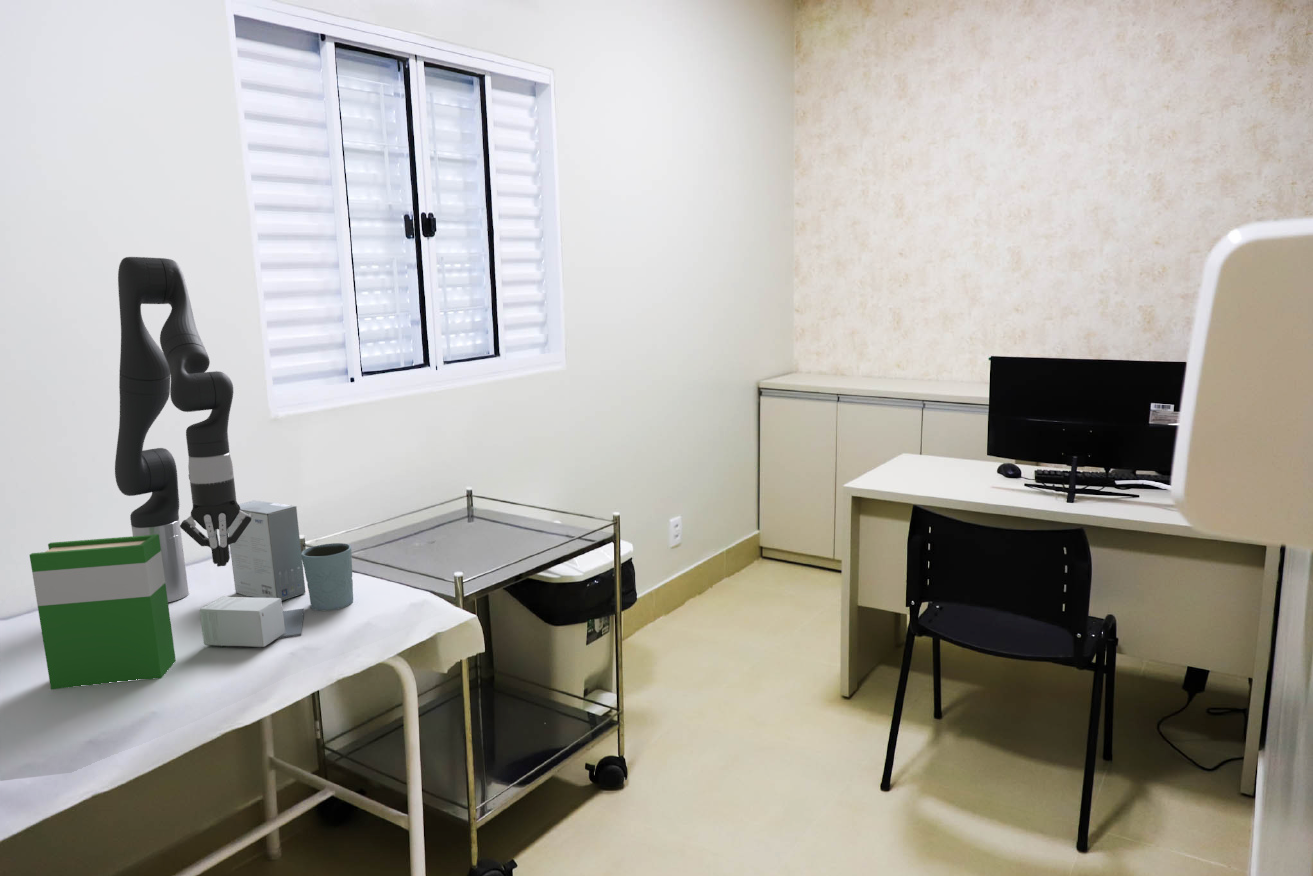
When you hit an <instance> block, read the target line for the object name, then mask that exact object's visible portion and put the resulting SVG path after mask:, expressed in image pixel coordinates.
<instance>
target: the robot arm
mask: <svg viewBox="0 0 1313 876" xmlns="http://www.w3.org/2000/svg"><path fill="white" fill-rule="evenodd" d="M118 266H119V267H118V271H117V285H118V287H117V289H118V303H119V319H120V354H119V355H120V357H119V358H120V359H119V375H118V376H119V378H118V379H119V383H118V385H119V386H118V387H119V423H118V425H119V426H118V434H117V444H116V449H115V450H116V451H115V461H114V476H115V477H114V478H115V481H116V482H115V483H116V486H117V488H118V490H119V491H120V492H121V494H123V495H124V496H127V497H128V496H129V497H132V496H133V497H134V496H138V495H139V496H140V495H144V494H150V493H151V495H150V497H149V499H148V500H147V501H146V502H144V503H143V504H142V505H141V506H139V507H137V508H136V509H134V510H133V511H132V512H131V513H130V518H129V519H130V525H131V526H130V527H131V534H132V536H144V535H157V534H159V539H160V547H161V554H162V562H163V569H164V577H165V584H166V592H167V599H168V603H171V602H175V601H178V600H181V599H183V598H186V597H187V596H188V595H189V594H190V593H189V592H190V591H189V585H188V578H187V570H186V569H187V568H186V562H185V561H186V560H185V552H184V545H183V538H182V531H184V533H186V534H187V535H188V536H189V537H190V538H192V539H193V541H194V542H196V543H197V544H198V545H200V546H201V547H209V548H210V549H211V556H212V557H211V558H212V563H213V564H214V565H216V566H217V567H226V566H227V563H229V561H230V558H231V554H230V544H232V543H235V542H236V541H237V540H238V538H239V537H240V536H241V534H242V533H243V531H244V530H245V529H246V527H247V526H248V524H249V523H250V521H251V519H252V514H246V513H245V512H243V511H241V510H240V506H239V505H238V504H239V503H238V502H237V495H236V494H237V493H236V485H235V476H234V466H233V460H232V457H231V452H230V443H229V434H228V431H229V430H228V427H229V419H230V412H231V407H232V403H233V397H234V385H233V382H232V380H231V378H230V377H229V376H228V374H226V373H225V372H224V371H217V370H215V371H208V369H209V367H210V364H211V363H210V357H209V354H208V352H207V350H206V348H205V346H204V344H203V343H204V342H203V341H202V339H201V337H200V334H199V332H198V329H197V326H196V321H195V319H194V314H193V309H192V305H191V300H190V296H189V291H188V288H187V284H186V279H185V276H184V274H183V273H184V272H183V271H182V269H181V267H180V265H179V264H178V263H177V262H176V261H175V260H174V259H171V258H164V257H163V258H162V257H148V256H147V257H145V256H143V257H142V256H126V257H123V258H122V259H121V260H120V263H119V265H118ZM143 304H144V305H167V304H168V305H169V306H170V307H171V309H170V313H169V315H168V316H167V319H166V320H165V322H164V323H163V326H162V328H161V330H160V334H159V343H160V346H159V345H158V344H157V343H156V341H155V339H154V338H153V337H152V335H151V334H150V332H149V330H148V329H147V327H146V324H145V322H144V320H143V315H142V310H141V309H142V307H141V306H142V305H143ZM207 371H208V372H207ZM169 398H170V400H171V403H172V405H173V406H174V407H175V408H176V409H178V410H179V411H181V412H184V413H190V412H191V413H192V412H199V411H210V410H211V412H210V414H209V416H208V417H207V418H206V419H204V420H202V421H199V422H196V423H193V424H191V425H189V426H188V427H187V428H186V430H185V436H186V437H185V438H186V439H185V440H186V446H187V455H188V479H189V486H190V492H191V501H192V509H191V512H190V516H188V517H187V518H186V519H184V520H182V521H181V523H180V515H179V510H180V495H179V483H178V481H179V480H178V479H179V478H178V469H177V465H176V460H175V457H174V456H173V454H172V453H171V452H170V450H168V449H166V448H164V447H157V448H151V449H144V444H145V440H146V437H147V434H148V432H149V430H150V428H151V427H152V425H153V424H154V422H155V421H156V420H157V418H158V417H159V415H160V414H161V412H162V411H163V409H164V408H165V405H166V404H167V402H168V400H169ZM237 515H238V517H239V519H238V522H239V523H240V524H239V526H238V527H237V529H236V530H235V531H234V533H233V534H232V535H231V536H229V534H228V528H229V527H230V526H231V524H232V523H233V521H234V520H235V518H236V517H237ZM197 524H198V525H199V526H201V528H202V529H203V530H205V531H206V535H207V536H206V535H205V534H204V533H203V532H201V531H200V530H199V529H198V528H197ZM181 530H182V531H181ZM218 532H219V533H218ZM218 534H219V537H218Z"/></svg>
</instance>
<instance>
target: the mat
mask: <svg viewBox="0 0 1313 876" xmlns="http://www.w3.org/2000/svg"><path fill="white" fill-rule="evenodd" d="M304 613H305V609H304V607H303V608H297V609H296V608H295V609H289V610H283V617H284V626H285V633H284V634H283V635H281V636H280V637H278V638H280V639H286V638H293V636H294V637H299V636H302V633H303V632H302V631H303V623H304Z"/></svg>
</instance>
